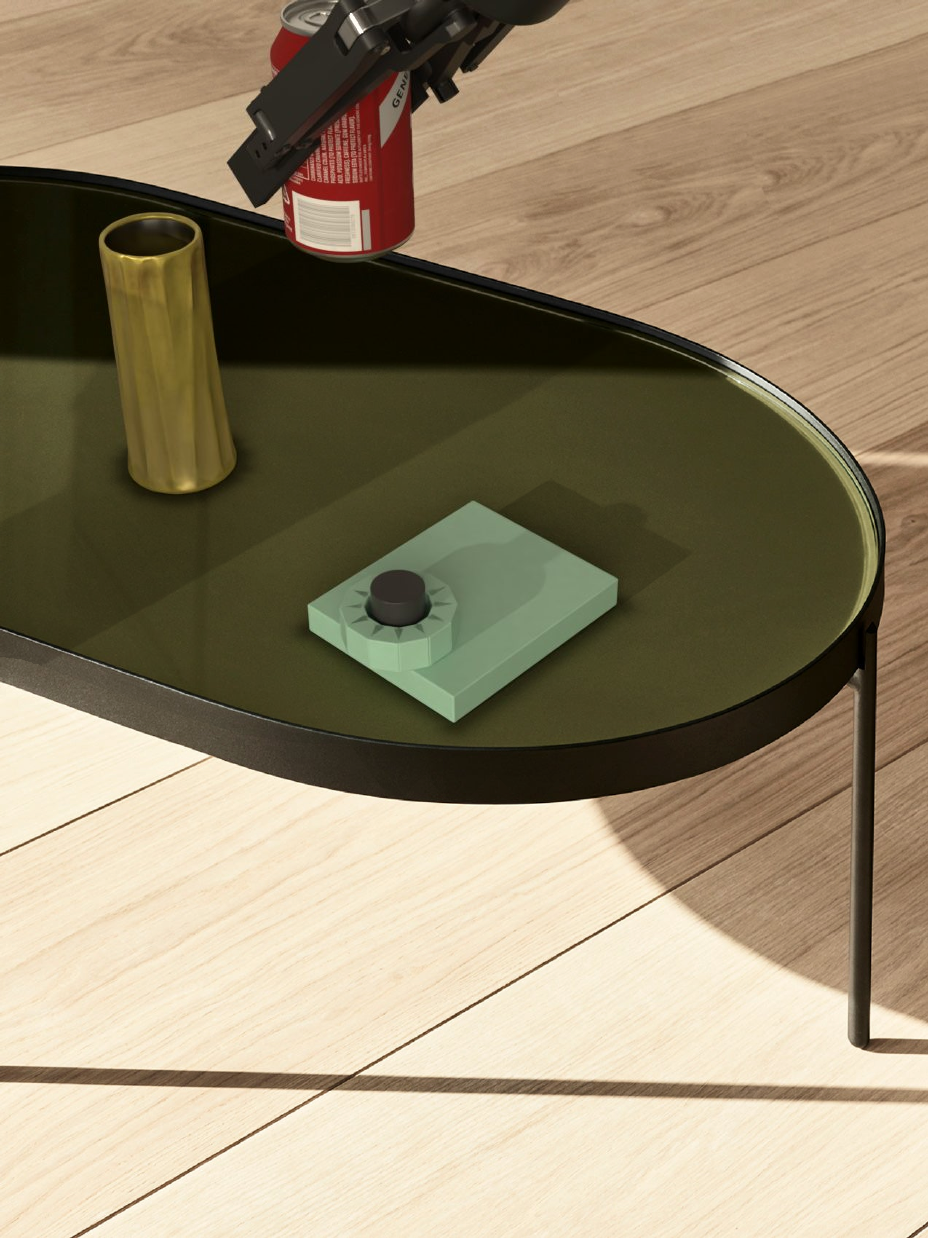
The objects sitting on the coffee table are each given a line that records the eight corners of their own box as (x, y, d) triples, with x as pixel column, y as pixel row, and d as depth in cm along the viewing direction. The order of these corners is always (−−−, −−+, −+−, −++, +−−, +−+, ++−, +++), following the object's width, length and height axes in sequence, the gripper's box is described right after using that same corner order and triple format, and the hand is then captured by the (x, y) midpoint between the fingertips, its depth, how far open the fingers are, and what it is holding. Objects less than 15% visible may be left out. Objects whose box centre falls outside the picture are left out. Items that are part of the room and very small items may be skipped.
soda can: (367, 283, 84) (354, 47, 77) (260, 251, 87) (237, 20, 80) (440, 230, 89) (435, 2, 81) (336, 201, 92) (321, -23, 84)
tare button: (398, 636, 79) (397, 610, 78) (360, 612, 80) (358, 586, 79) (437, 610, 80) (436, 584, 79) (398, 587, 81) (397, 561, 80)
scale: (435, 737, 78) (433, 681, 75) (290, 642, 83) (284, 587, 81) (617, 604, 85) (620, 549, 83) (473, 525, 90) (472, 471, 88)
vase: (231, 495, 93) (202, 261, 84) (120, 497, 93) (79, 263, 84) (242, 434, 97) (215, 206, 88) (136, 435, 97) (99, 207, 88)
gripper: (423, 44, 63) (193, 290, 82) (731, -81, 74) (466, 161, 93) (317, -131, 63) (110, 157, 82) (643, -231, 74) (394, 43, 93)
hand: (300, 159), depth 88 cm, fingers closed on soda can, 7 cm apart
